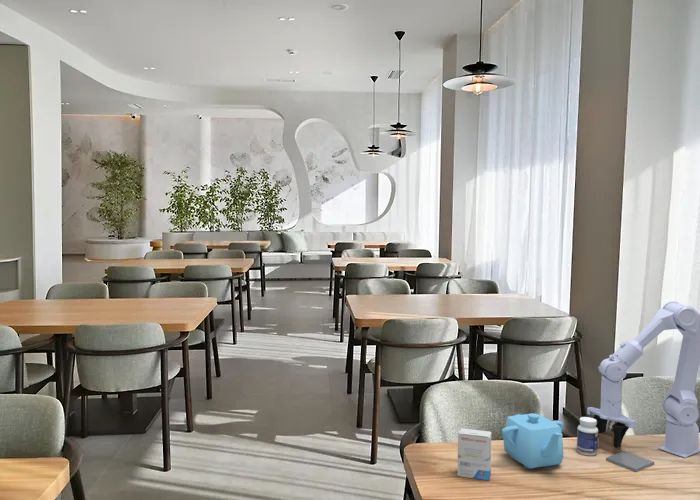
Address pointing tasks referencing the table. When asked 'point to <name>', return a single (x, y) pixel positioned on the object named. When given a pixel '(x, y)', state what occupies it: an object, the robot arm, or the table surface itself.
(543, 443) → the teapot
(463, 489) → the table surface
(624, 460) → the slate coaster
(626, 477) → the table surface
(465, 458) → the ink box
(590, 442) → the pill bottle
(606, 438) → the walnut cube
